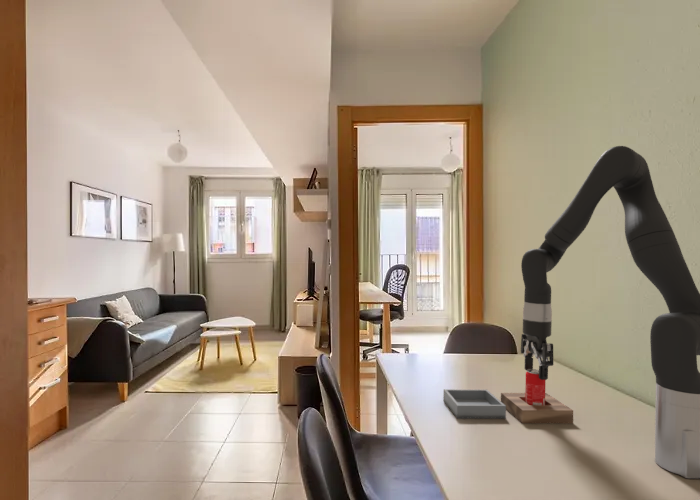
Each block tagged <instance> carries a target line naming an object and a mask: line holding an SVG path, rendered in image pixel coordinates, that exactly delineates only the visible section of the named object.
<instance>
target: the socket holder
mask: <svg viewBox="0 0 700 500" xmlns="http://www.w3.org/2000/svg"><path fill="white" fill-rule="evenodd" d="M500 401H501V402H502V403H503V404H504V405H506V411H507V412H509V413H510V414H511V415H512V416H513V417H514V418H516V420H518V421H519V422H520V423H521V424H574V410H573V409H572V408H570V407H569V406H568V405H565V404H564V403H563V402H561V401H560V400H558V399H556V398H555V397H553V396H552V395H550V394H548V393H547V392H545V405H528V404H527V403H526V402H525V392H500Z"/></svg>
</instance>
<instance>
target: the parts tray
mask: <svg viewBox="0 0 700 500" xmlns="http://www.w3.org/2000/svg"><path fill="white" fill-rule="evenodd" d="M442 399H443V402H444V403H445V405H446V406H447V407H448V408H449V410H450V411H451V412H452V414H453V415H454V416H455V418H456V419H497V420H498V419H500V420H501V419H504V420H505V419H507V417H506V416H507V415H506V414H507V412H506V411H507V409H506V405H504V404H503V403H502V402H501V399H499V398H498V397H496V395H494V394H493V393H492V392H491V391H490V390H488V389H463V388H462V389H458V388H457V389H455V388H454V389H453V388H452V389H451V388H450V389H448V388H447V389H446V388H445V389H443V398H442Z"/></svg>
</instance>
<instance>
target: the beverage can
mask: <svg viewBox="0 0 700 500" xmlns="http://www.w3.org/2000/svg"><path fill="white" fill-rule="evenodd" d="M524 389H525V392H524V393H525V402H526V403H527V404H528V405H545V393H546V380H541V379H539V369H534V368H533V369H528V370H526V372H525V388H524Z"/></svg>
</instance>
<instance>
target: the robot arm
mask: <svg viewBox="0 0 700 500" xmlns="http://www.w3.org/2000/svg"><path fill="white" fill-rule="evenodd" d="M612 188H614V189H615V191H616V193H617V196H618V197H619V200H620V201H621V204H622V207H623V211H624V235H625V240H626V242H627V247H628V249H629V251H630V254H631V257H632V259H633V262H634V264H635V265H636V267H637V268H638V269H639V271H640V272H641V273H642V274H643V275H644V276H645V278H647V279H648V281H649V282H651V283H652V284H653V286H655V288H656V289H657V290H658V292H659V293H660V294H661V296H662V297H663V299H664V301H665V304H666V306H667V309H668V313H667V312H666V313H662V314H659V315H658V316H657V317H656V318H655V319H654V320H653V321H652V324H651V328H650V359H651V367H652V370H653V373H654V375H655V413H654V414H655V416H654V417H655V419H654V420H655V423H654V425H655V427H654V428H655V429H654V430H655V431H654V432H655V433H654V462H655V463H656V464H657V465H658V466H659V467H661V468H662V469H664V470H667V471H669V472H670V473H673V474H676V475H679V476H681V477H683V478H685V479H700V371H699V369H698V361H697V360H698V359H697V358H698V357H697V356H700V291H699V289H698V288H697V285H696V283H695V281H694V278H693V276H692V273H691V271H690V269H689V267H688V264H687V262H686V260H685V258H684V255H683V253H682V250H681V246H680V244H679V242H678V240H677V237H676V235H675V232H674V230H673V227H672V225H671V223H670V222H669V219H668V217H667V215H666V212H665V210H664V209H663V207H662V205H661V203H660V202H659V199H658V198H657V194H656V192H655V191H656V190H655V188H654V183H653V181H652V175H651V172H650V168H649V165H648V162H647V160H646V159H645V158H644V157H643V156H642V155H641V154H639V153H638V152H636V151H635V150H634V149H632V148H630V147H628V146H626V145H617V146H616V145H615V146H612V147H610V148H609V149H607V150H605V151H604V152H603V153H602V154H601V156H600V157H599V158H598V160H597V161H596V163H595V164H594V166H592V168H591V170H590V172H589V173H588V176H586V178H585V180H584V181H583V183H582V184H581V187H580V188H579V189H578V191H577V193H576V194H575V195H574V197H573V199H572V200H571V201H570V203H569V205H568V206H567V207H566V208H565V210H564V211H563V213H561V215H560V216H559V217H558V218H557V219H556V220H555V222H554V223H553V224H552V225H551V226H550V228H548V230H547V231H546V233H545V235H544V241H543V242H542V244H541V245H540V246H538V248H531V249H528V250H527V251H526V252H525V253H524V254H523V256H522V258H521V273H522V274H521V275H522V281H523V285H524V298H523V299H524V303H523V307H522V308H523V311H522V334H521V338H520V339H521V341H520V353H521V354H522V355H523V357H524V370H525V371H527V370H528V369H534V358H535V359H537V362H538V370H539V379H541V380H548V379H549V367H552V366H553V367H554V344H553V343H551V342H550V343H547V338H548V337H551V336H552V323H553V322H552V321H553V320H552V315H553V310H552V286H551V285H550V284H549V283H548V275H547V274H548V273H550V272H551V271H553V269H554V268H555V267H556V266H557V265H558V264H559V262H560V260H561V259H562V258H563V256H564V255H565V253H566V251H567V249H568V248H569V247H570V246H572V244H573V243H574V242H575V241H576V240H577V239H578V238H579V236H581V234H583V232H584V230H586V227H587V226H588V224H589V222H590V221H591V219H592V217H593V215H594V212H595V209H596V208H597V206H598V204H599V203H600V201H601V200H602V198H603V197H604V196H605V195H606V194H607V193H608V192H609V191H610V190H611V189H612Z"/></svg>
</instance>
